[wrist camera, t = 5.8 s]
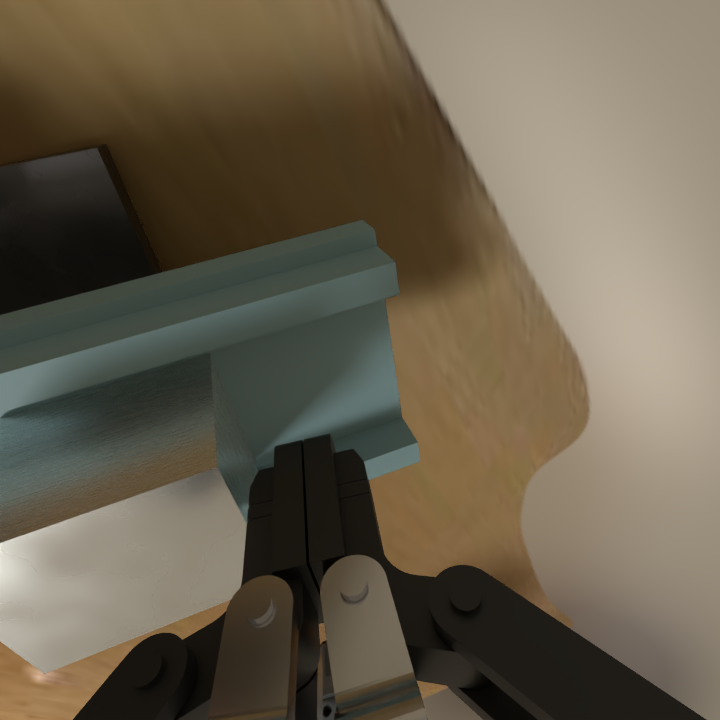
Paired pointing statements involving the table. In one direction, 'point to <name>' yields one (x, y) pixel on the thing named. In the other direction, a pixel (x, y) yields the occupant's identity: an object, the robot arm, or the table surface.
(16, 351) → the seesaw beam
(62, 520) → the steel slider
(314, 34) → the table surface
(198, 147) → the table surface
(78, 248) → the beam stand
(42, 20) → the table surface
